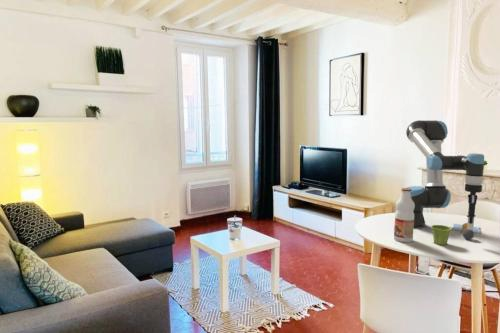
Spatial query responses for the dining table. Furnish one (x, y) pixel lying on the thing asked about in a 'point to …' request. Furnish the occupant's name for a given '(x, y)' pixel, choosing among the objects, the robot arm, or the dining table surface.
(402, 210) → the fruit juice
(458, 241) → the dining table surface
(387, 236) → the dining table surface
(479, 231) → the mark
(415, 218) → the robot arm
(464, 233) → the ball
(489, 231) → the dining table surface
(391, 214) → the dining table surface
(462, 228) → the ball
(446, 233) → the plant pot
